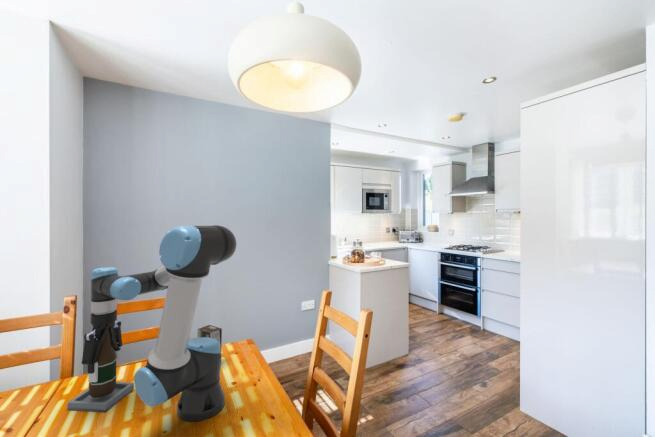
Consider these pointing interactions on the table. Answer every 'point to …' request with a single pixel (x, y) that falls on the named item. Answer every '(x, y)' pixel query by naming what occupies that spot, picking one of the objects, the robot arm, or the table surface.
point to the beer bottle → (105, 369)
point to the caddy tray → (100, 399)
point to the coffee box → (211, 334)
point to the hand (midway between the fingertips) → (103, 375)
